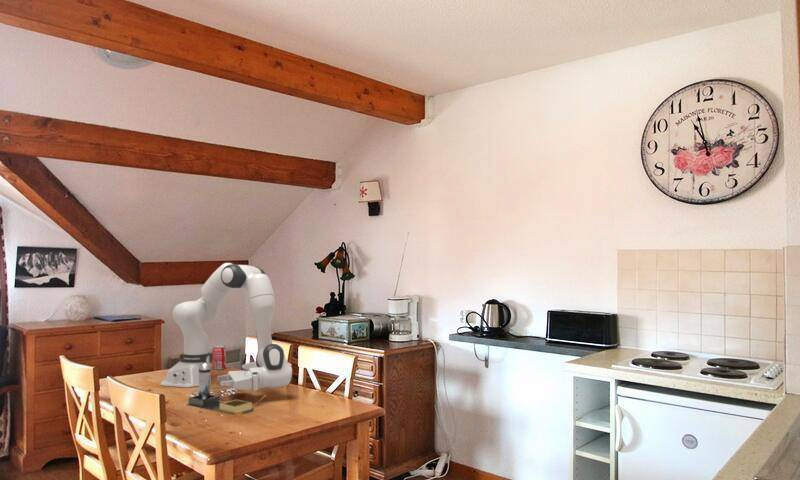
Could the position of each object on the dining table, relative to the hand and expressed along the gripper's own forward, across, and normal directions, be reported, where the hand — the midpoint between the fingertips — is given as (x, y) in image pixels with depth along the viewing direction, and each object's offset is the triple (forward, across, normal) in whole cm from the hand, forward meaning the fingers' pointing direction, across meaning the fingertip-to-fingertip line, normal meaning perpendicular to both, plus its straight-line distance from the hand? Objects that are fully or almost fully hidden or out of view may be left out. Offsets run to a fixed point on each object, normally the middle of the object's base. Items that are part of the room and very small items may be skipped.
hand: (219, 381), depth 231 cm
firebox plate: (0, +7, +9) cm, 12 cm away
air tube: (+6, 0, +8) cm, 10 cm away
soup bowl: (-28, -41, +10) cm, 50 cm away
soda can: (-9, -74, +10) cm, 75 cm away
